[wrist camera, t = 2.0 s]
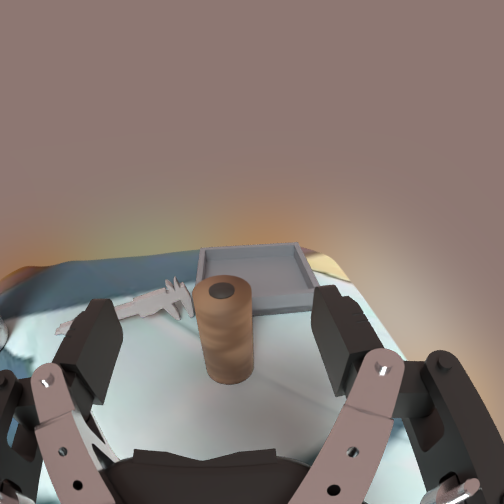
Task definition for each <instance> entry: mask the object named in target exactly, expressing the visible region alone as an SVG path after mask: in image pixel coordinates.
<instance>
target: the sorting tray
mask: <svg viewBox="0 0 504 504" xmlns="http://www.w3.org/2000/svg"><path fill="white" fill-rule="evenodd" d="M217 275H232V276H236V277H240V278H242V279H244V280H245V281H247V282H248V283H249V285H250V286H251V290H252V316H261V315H273V314H284V313H295V312H305V311H312V305H313V296H314V289H315V287H316V286H320V285H319V283H318V281H317V279H316V277H315V275H314V273H313V271H312V269H311V267H310V265H309V263H308V261H307V259H306V257H305V256H304V254H303V252H302V250H301V248H300V246H299V244H298V242H295V243H277V244H259V245H243V246H226V247H209V248H201V249H200V255H199V262H198V269H197V276H196V284H195V286H196V285H197V284H198V283H199V282H201V281H202V280H204V279H206V278H209V277H212V276H217Z"/></svg>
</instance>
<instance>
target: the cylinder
mask: <svg viewBox="0 0 504 504" xmlns="http://www.w3.org/2000/svg"><path fill="white" fill-rule="evenodd" d="M192 297H193V302H194V308H195V314H196V319H197V324H198V330H199V335H200V340H201V345H202V350H203V355H204V359H205V364H206V369H207V372H208V375H209V376H210V377H211V378H212V379H213V380H214V381H216V382H218V383H221V384H226V385H232V384H238V383H240V382H243V381H244V380H246V379H247V378H248V377H249V376H250V375H251V373H252V371H253V367H254V366H253V328H252V290H251V286H250V285H249V283H248V282H247V281H245V280H244V279H242V278H240V277H236V276H232V275H217V276H212V277H209V278H206V279H204V280H202V281H201V282H199V283H198V284H197V285H196V286H195V287H194V289H193V292H192Z"/></svg>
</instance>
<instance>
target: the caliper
mask: <svg viewBox="0 0 504 504" xmlns="http://www.w3.org/2000/svg"><path fill="white" fill-rule="evenodd" d="M165 282H166V286H167V288H168V290H166V288H161V289H159V290H156V291H153V292H150V293H147V294H144V295H141V296H138V297H135V298H133V301H132V302H129V303H125V304H122V305H119V306H116V307H114V308H115V311H116V314H117V317H118V319H119V320H120V319H123V318H126V317H130V316H133V315H136V314H139V315H140V316H141V318H144V317H146V316H147V315H153V314H155V313H156V312H158V311H159V310H160V309H163V308H164V309H165V310H166V311H167V312H168V313H169V314H170V315H171V316H173V317H174V318H175V319H176V320H181V318H180V314H179V311H178V309H177V307H176V306H175V304H174V302H177V301H179V300H181V302H182V304H183V306H184V307H185V309H186V311H187V312H188V314H189V316H190V318H192V317H193V316H194V314H193V308H192V303H191V297H190V293H189V292H188V290H187V288H186V286H185V284H184V283H183V282H182V283H178V281H177V279H176V277H174V286H173V284H172V283H171V282H170V281H168V280H165ZM72 322H73V320H72V321H68V322H65V323H62V324H60V327H59V328H57V329H56V332H55V335H59V334H63V335H65V334H66V333H67V331H68V330H69V328H70V326H71V324H72Z"/></svg>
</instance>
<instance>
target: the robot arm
mask: <svg viewBox="0 0 504 504" xmlns="http://www.w3.org/2000/svg"><path fill="white" fill-rule="evenodd" d="M311 327H312V332H313V335H314V338H315V340H316V343H317V346H318V349H319V351H320V354H321V357H322V360H323V363H324V365H325V368H326V371H327V374H328V377H329V379H330V382H331V385H332V388H333V391H334V394H335V397H338V396H342V395H345V396H346V399H347V400H346V402H345V404H344V406H343V408H342V410H341V412H340V414H339V416H338V418H337V420H336V422H335V424H334V426H333V428H332V430H331V432H330V434H329V436H328V438H327V440H326V441H325V443H324V445H323V447H322V449H321V451H320V452H319V454H318V456H317V458H316V460H315V461H314V463H313V465H312V466H310V465H308V464H306V463H303V462H301V461H298V460H295V459H291V458H286V457H279V456H276V450H275V449H267V450H256V451H244V452H237V453H233V454H229V455H226V456H222V457H218V458H214V459H210V460H205V461H199V460H195V459H191V458H187V457H183V456H179V455H176V454H172V453H169V452H161V451H149V450H139V449H134V454H133V457H131V458H127V459H123V460H119V458H118V457H117V456H116V454H115V453H114V452H113V450H112V449H111V447H110V446H109V444H108V442H107V440H106V438H105V436H104V434H103V432H102V430H101V428H100V426H99V424H98V422H97V420H96V418H95V416H94V414H93V412H92V411H91V407H92V404H96V405H103V404H104V400H105V397H106V393H107V390H108V386H109V383H110V379H111V376H112V373H113V370H114V366H115V363H116V360H117V357H118V354H119V351H120V348H121V345H122V341H123V331H122V327H121V324H120V322H119V319H118V317H117V314H116V311H115V308H114V306H113V303H112V301H111V300H110V299H92V300H91V301H90V303H89V305H88V307H87V308H86V310H85V311H82V312H81V313H80V314H79V315H78V316H77V317H76V318H75V319H74V320H73V322H72V324H71V326H70V328H69V330H68V331H67V333H66V335H65V336H66V337H64V339H63V341H62V343H61V345H60V347H59V349H58V351H57V353H56V355H55V357H54V359H53V361H52V363H46V364H43V365H41V366H40V367H38V368H37V369H36V370H35V371H34V373H33V375H32V377H30V378H24V379H17V377H16V376H15V375H14V373H13V372H12V371H10V370H2V371H0V504H36V498H37V491H38V484H39V478H40V473H41V467H42V462H43V460H44V463H45V466H46V469H47V471H48V474H49V477H50V479H51V482H52V484H53V487H54V489H55V491H56V494H57V496H58V498H59V500H60V502H61V504H367V503H366V502H364V501H363V500H364V498H365V496H366V493H367V491H368V489H369V487H370V485H371V482H372V480H373V478H374V475H375V473H376V471H377V468H378V466H379V463H380V461H381V458H382V455H383V453H384V450H385V447H386V444H387V442H388V439H389V436H390V433H391V430H392V427H393V422H394V420H393V419H391V418H401V419H402V421H403V424H404V427H405V429H406V432H407V435H408V437H409V440H410V443H411V446H412V449H413V451H414V454H415V457H416V460H417V463H418V466H419V469H420V472H421V475H422V478H423V482H424V485H425V488H426V491H427V493H426V494H425V495H424V497H423V498H422V500H421V502H420V504H504V443H503V441H502V439H501V436H500V434H499V432H498V430H497V428H496V426H495V424H494V422H493V420H492V418H491V417H490V414H489V412H488V410H487V409H486V406H485V405H484V403H483V401H482V399H481V397H480V395H479V394H478V392H477V390H476V389H475V387H474V385H473V383H472V382H471V380H470V378H469V376H468V375H467V374H466V372H465V370H464V368H463V367H462V365H461V364H460V362H459V360H458V359H457V358H456V357H455V356H454V355H453V354H451V353H450V352H447V351H443V350H437V351H434V352H432V353H430V354H429V356H428V357H427V359H426V361H403V360H402V358H401V357H400V356H399V355H398V354H397V353H396V352H394V351H392V350H389V349H385V348H384V347H383V345H382V343H381V341H380V340H379V338H378V336H377V334H376V333H375V331H374V329H373V328H372V326H371V324H370V323H369V322H368V319H367V317H366V316H365V314H363V311H362V309H361V308H360V306H359V304H358V303H357V302H356V301H354V300H353V299H352V298H350V297H349V296H344V297H342V296H341V294H340V292H339V291H338V289H337V287H336V286H335V285H326V286H316V287H315V289H314V296H313V305H312V313H311ZM7 338H8V329H7V327H6V325H5V323H4V321H3V319H2V317H1V316H0V350H1V349H2V348H3V346H4V345H5V343H6V341H7ZM12 418H14V419H15V420H16V421H17V422H18V423H19V424H18V427H17V430H16V434H15V437H14V441H13V444H12V448H10V446H9V445H8V442H7V433H8V430H9V427H10V424H11V421H12Z"/></svg>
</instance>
